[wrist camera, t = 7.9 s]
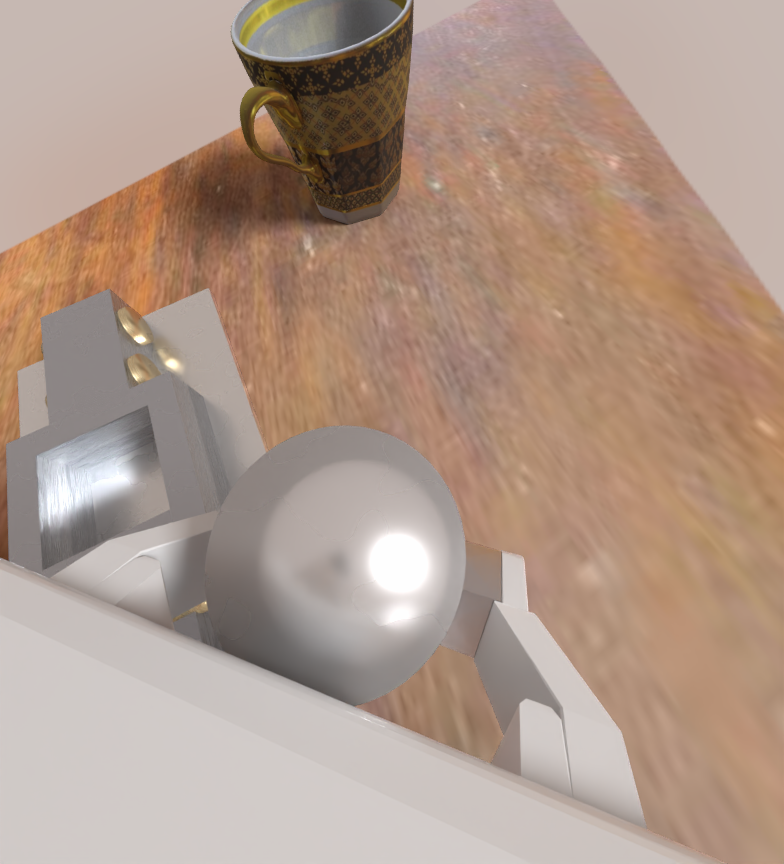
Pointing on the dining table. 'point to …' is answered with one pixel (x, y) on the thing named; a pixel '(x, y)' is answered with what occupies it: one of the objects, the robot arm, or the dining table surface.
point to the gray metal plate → (126, 431)
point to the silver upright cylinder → (337, 562)
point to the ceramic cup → (331, 94)
